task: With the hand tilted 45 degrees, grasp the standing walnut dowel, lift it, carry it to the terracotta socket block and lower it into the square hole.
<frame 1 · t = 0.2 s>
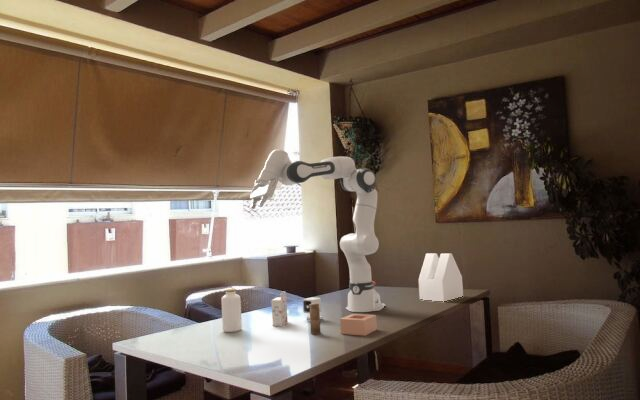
hand: (256, 207, 222), 54 cm above the table, tool tilted 30°, fingers open, 8 cm apart
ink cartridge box: (280, 324, 225), on the table
potion bottle: (232, 331, 216), on the table
white notched block: (441, 299, 271), on the table
dowel: (315, 333, 202), on the table
security camera: (313, 320, 231), on the table
socket block: (359, 331, 201), on the table
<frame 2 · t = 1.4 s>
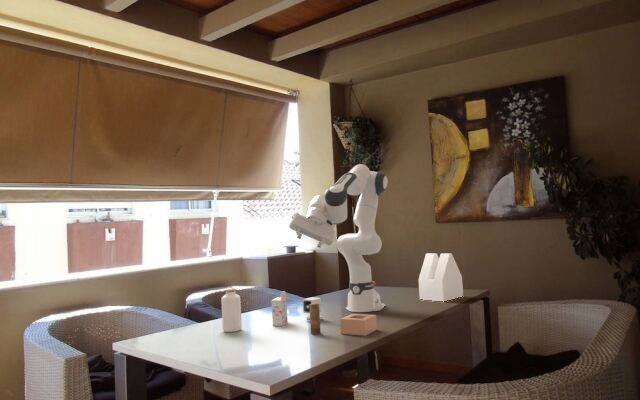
hand: (309, 242, 207), 38 cm above the table, tool tilted 50°, fingers open, 8 cm apart
nothing on the table moved.
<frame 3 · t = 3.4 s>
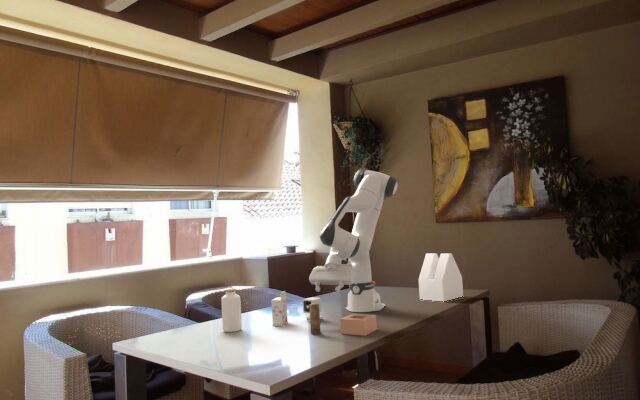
hand: (327, 291, 213), 16 cm above the table, tool tilted 45°, fingers open, 8 cm apart
nothing on the table moved.
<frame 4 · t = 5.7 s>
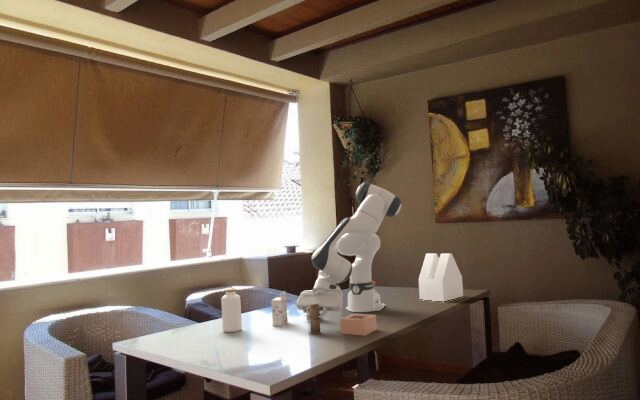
hand: (314, 318, 202), 6 cm above the table, tool tilted 45°, fingers closed on dowel, 4 cm apart
dowel: (315, 333, 202), on the table, touching gripper
everything else where it was.
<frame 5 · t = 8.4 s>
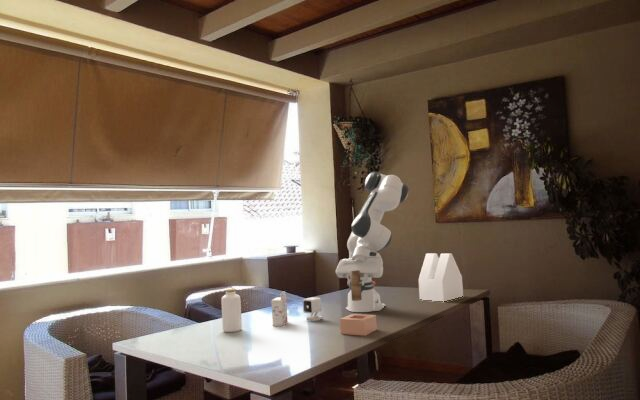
hand: (355, 284, 201), 19 cm above the table, tool tilted 45°, fingers closed on dowel, 4 cm apart
dowel: (356, 299, 202), point 13 cm above the table, touching gripper
everything else where it was.
when the fingers open (8 cm above the table, at t = 11.4 s): dowel drops 2 cm, resting in socket block.
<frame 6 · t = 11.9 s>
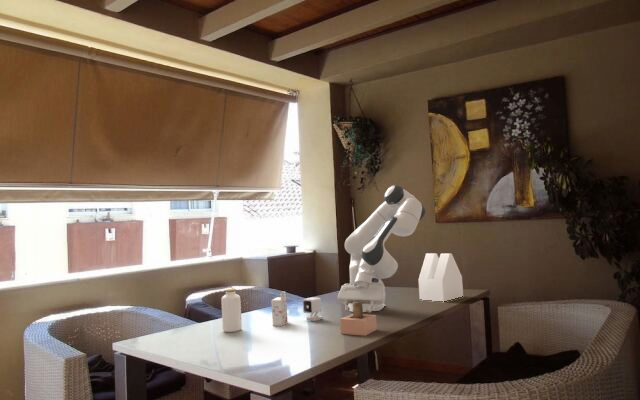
hand: (357, 311, 201), 8 cm above the table, tool tilted 45°, fingers open, 8 cm apart
dowel: (359, 331, 201), resting in socket block
everything else where it was.
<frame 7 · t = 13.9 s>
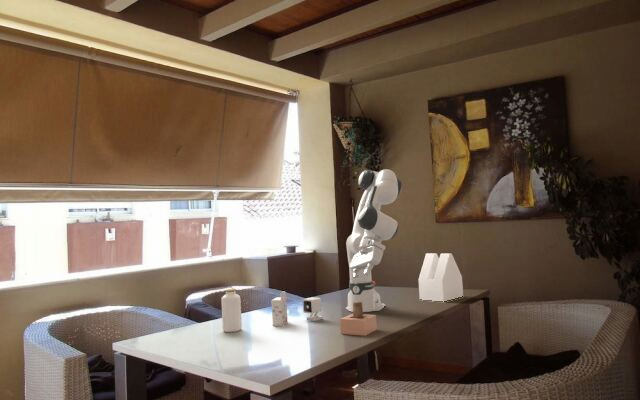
hand: (360, 276, 208), 22 cm above the table, tool tilted 35°, fingers open, 8 cm apart
nothing on the table moved.
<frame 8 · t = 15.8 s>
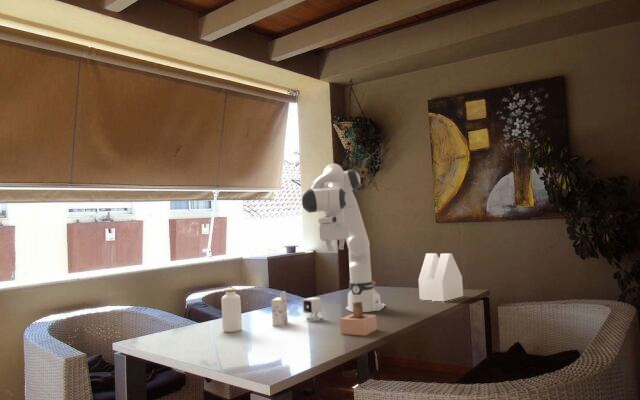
hand: (335, 250, 214), 33 cm above the table, tool pointing down, fingers open, 8 cm apart
nothing on the table moved.
at the end: dowel 0.1 cm off-centre on the socket block, point 0.0 cm above the socket block's base; dowel tilted 0°; the gripper is holding nothing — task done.
